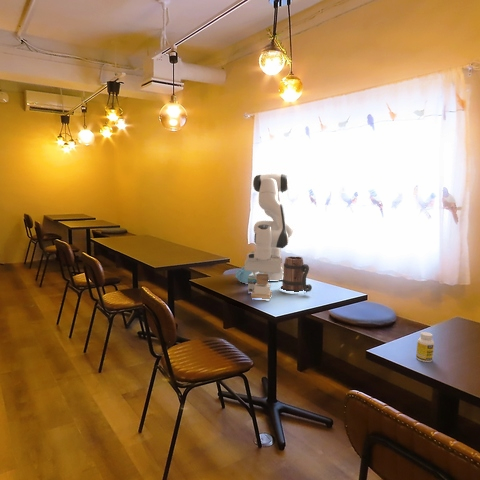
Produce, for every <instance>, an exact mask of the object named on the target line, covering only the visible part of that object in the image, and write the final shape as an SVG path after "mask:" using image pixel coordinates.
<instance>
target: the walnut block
mask: <svg viewBox="0 0 480 480" xmlns="http://www.w3.org/2000/svg"><path fill="white" fill-rule="evenodd" d="M267 277H268V274H266V273H259V272H258V274H257V284H262V285H267V284H269V282H268V280H267Z"/></svg>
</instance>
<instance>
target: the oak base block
mask: <svg viewBox="0 0 480 480" xmlns="http://www.w3.org/2000/svg"><path fill="white" fill-rule="evenodd" d="M254 291H255V289H254ZM254 291H253V292H252V293H251V294H250V299H251V298H262V299H270V297H271V295H272V296H273V290H271V289H270V293H269V294H255V293H254ZM271 298H272V297H271ZM270 300H271V299H270Z"/></svg>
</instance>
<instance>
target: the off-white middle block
mask: <svg viewBox="0 0 480 480" xmlns="http://www.w3.org/2000/svg"><path fill="white" fill-rule="evenodd" d="M270 290H271V283H268V284H267V285H262V284H257V283H256V284H255V291H254V293H255V294H269V293H270Z"/></svg>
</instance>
